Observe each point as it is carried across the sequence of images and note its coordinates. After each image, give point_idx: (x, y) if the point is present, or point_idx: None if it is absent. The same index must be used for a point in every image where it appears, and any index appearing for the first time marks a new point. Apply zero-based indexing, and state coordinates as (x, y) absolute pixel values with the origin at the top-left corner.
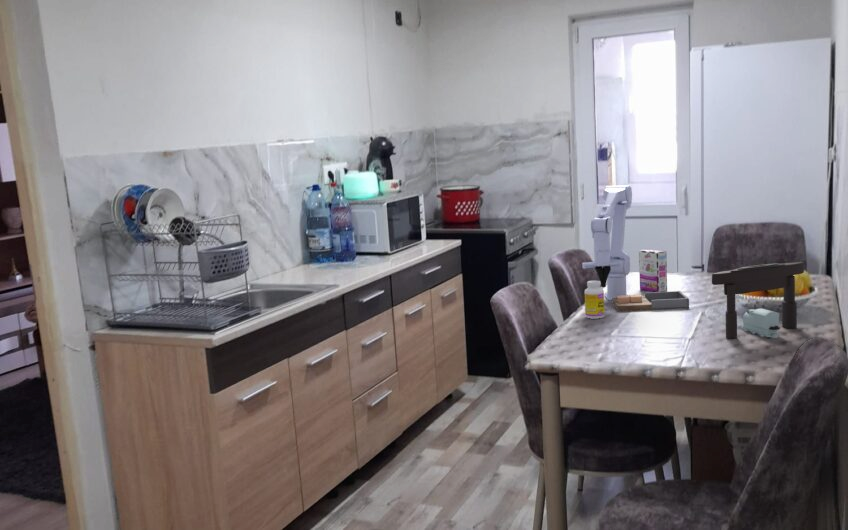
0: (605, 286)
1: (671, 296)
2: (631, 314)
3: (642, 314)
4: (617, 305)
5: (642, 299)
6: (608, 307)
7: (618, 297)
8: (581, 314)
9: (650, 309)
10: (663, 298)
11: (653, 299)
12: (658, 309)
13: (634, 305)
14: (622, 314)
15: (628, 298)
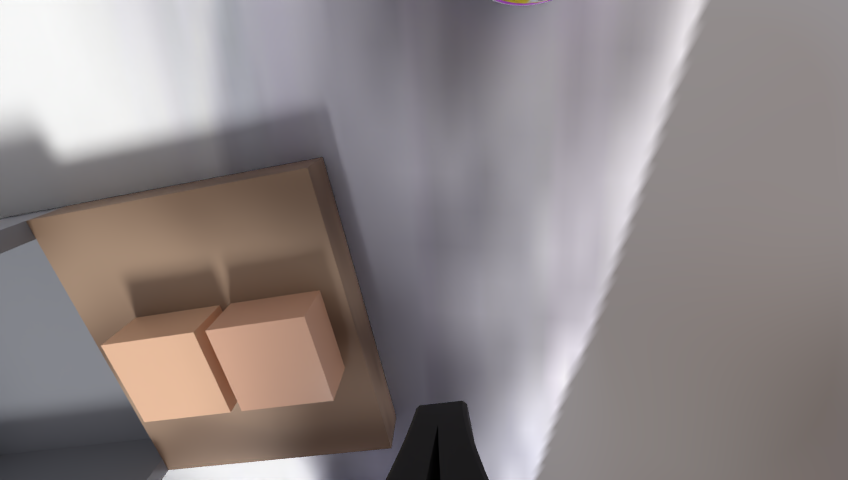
0: (417, 411)
1: (6, 470)
2: (185, 35)
3: (89, 33)
4: (315, 198)
5: None
6: (416, 307)
7: (306, 329)
8: (659, 45)
9: (74, 205)
10: (62, 455)
11: (124, 447)
12: (22, 214)
13: (163, 193)
14: (266, 37)
15: (220, 322)
